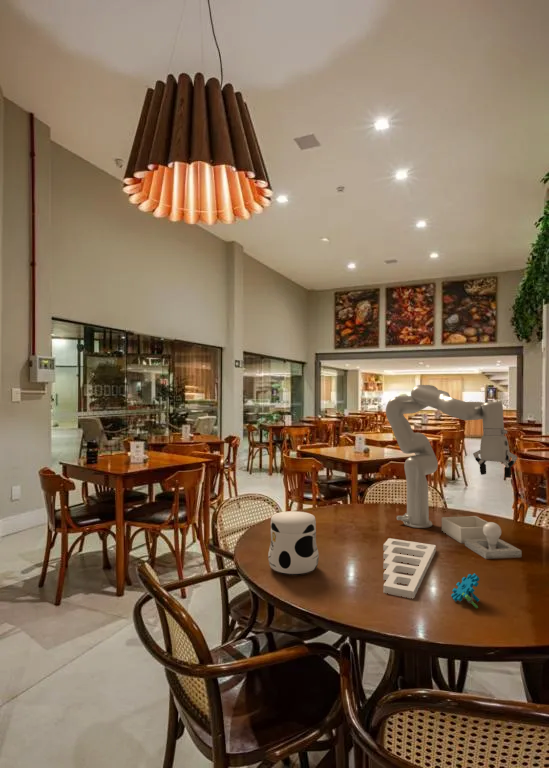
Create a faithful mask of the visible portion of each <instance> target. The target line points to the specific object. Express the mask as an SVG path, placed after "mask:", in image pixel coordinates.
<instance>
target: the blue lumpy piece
mask: <svg viewBox="0 0 549 768" xmlns="http://www.w3.org/2000/svg"><path fill="white" fill-rule="evenodd" d="M479 581H480V577H479V575H477V574H476V573H473V574H471V573H468V574H467V577H466V576H463V577H462V578H461V582H460V581H458V582H457V583H456V584H455V586H457V588H456V587H454V588H453V589H452V590H451V591H452V593H451V595H450V596H451V598H452V600H454V602H455V603H456V602H457V601H459V602H462V601H463V599H466V602H467V603H468V604H471V605H472V606H473V607H474V608H475V609H478V608H479V606H478V604H476V603H475V602H477V603H478V602H479V601H480V598H479V597H477V595H476V594H475V593H474V592H475V591H476V590H475V589H474V587H478V586H479ZM474 600H475V602H474Z"/></svg>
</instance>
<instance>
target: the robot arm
mask: <svg viewBox="0 0 549 768" xmlns="http://www.w3.org/2000/svg"><path fill="white" fill-rule="evenodd" d="M410 391H411V392H410V395H398V396H394V397H392V398H391V399H389V401H388V402H387V404H386V407H385V416H386V419H387V421H388V423H389V425H390V427H391V429H392V431H393V435H394V437H395V440H396V442H397V444H398V445H397V446H398V447H399V449H400V452H402V453H403V454H406V455H409V454H410V456H409V457H408V458H407V459H405V462H404V464H403V466H404V474H405V480H406V512H405V513H404V514H403V515H396V520H397V521H401V522H403V524H404V525H405V526H407V527H410V528H414V529H415V528H417V529H427V528H430V527H432V526H433V522H432V521H431V520H429V518H430V517H429V514H430V513H429V483H428V480H427V477H426V476H427V475H431V474H434V473H435V472H436V471H437V470H438V468H439V467H438V466H439V463H438V462H439V461H438V459H437V456H436V453H435V452H434V450H433V448H432V445H431V442H430V441H429V439H428V437H427V436H426V435H425V434H424V433H421V432H414V430H413V428H412V426H411V423H410V422H409V420H408V419H407V418H406V417H405V416H404V415H405V414H406V415H407V414H409V415H410V414H416V413H418V412H420V411H422V410H424V409H426V408H427V407H430V408H433V409H436V410H439V411H441V412H442V413H443V414H446V415H448V416H450V417H454V418H456V419H459V420H463V421H478V420H482V435H481V439H480V445H479V446H480V447H479V450H477V451H475V452H473V453H472V455H473V457H474V459H475V462H477V463H478V465H479V472H480V476H481V475H482V476H483V475H486V474H487V465H486V462H487V461H488V462H498V463H503V465H504V466H505V467H504V468H503V470H504V478H510V477H511V476H512V467H513V466H514V464H515V463H516V461H517V459H518V456H517V455H516V454H514V453H513V452H510V447H509V441H508V438H507V436H505V435H507V434H508V430H507V429H505V426H504V425H505V424H504V405H503V403H502V402H498V401H486V402H483V401H463V400H460V399H457V398H454V397H451V395H450V393H449V392H447V391H444V390H441V389H438V388H437V387H436V386H435V385H432V384H418V385H415V386H414V387H413V388H412V389H411V390H410ZM411 454H414V455H412V456H411Z"/></svg>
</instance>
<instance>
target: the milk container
mask: <svg viewBox="0 0 549 768" xmlns="http://www.w3.org/2000/svg"><path fill="white" fill-rule="evenodd" d="M316 525H317V522H316V517H315V515H314V514H311V513H310V512H306V511H293V510H292V511H290V510H289V511H280V512H276V513H275V514H274V513H273V515H272V516H271V518H270V545H269V549H268V553H267V554H268V555H267V559H268V565H269V566H270V568H271V569H272V570H273V571H274V572H276V573H277V574H280V575H283V576H289V577H290V576H303V575H307V574H310V573H312V572H314V571H315V570H316V569H317V567H318V565H319V557H320V553H319V550H318V546H317V539H316V538H317V529H316V528H317V527H316Z"/></svg>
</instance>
